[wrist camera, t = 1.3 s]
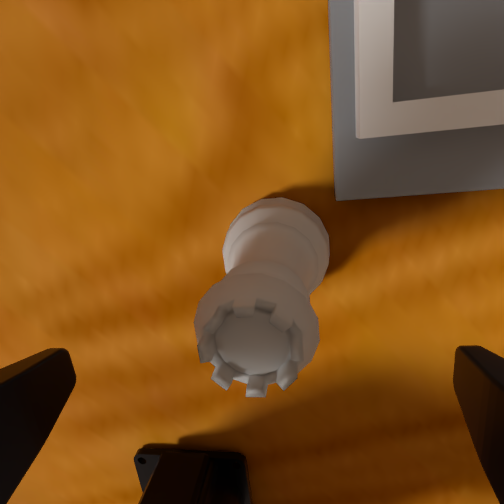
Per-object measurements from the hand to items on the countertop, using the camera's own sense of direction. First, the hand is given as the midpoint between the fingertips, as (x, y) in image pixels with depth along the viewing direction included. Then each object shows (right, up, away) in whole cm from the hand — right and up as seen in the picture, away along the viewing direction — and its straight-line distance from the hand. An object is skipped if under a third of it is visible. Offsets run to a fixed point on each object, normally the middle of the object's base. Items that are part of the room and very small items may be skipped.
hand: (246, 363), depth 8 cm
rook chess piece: (+1, +3, +8) cm, 8 cm away
